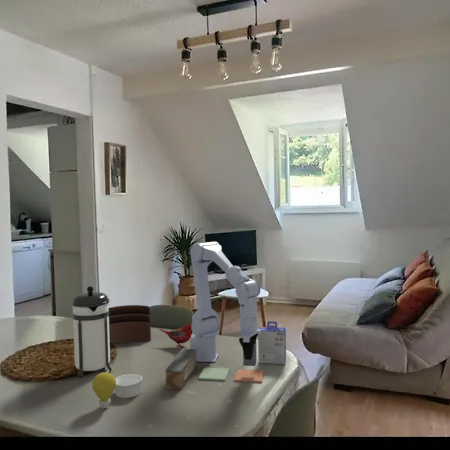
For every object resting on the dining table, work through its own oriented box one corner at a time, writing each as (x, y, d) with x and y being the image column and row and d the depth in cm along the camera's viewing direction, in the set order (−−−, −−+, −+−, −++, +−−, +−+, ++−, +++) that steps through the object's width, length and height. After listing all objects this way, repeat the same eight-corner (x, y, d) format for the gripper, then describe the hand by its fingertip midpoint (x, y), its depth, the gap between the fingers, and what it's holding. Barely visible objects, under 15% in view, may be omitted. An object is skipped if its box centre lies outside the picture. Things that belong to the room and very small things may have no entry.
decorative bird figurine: (193, 350, 171) (192, 326, 170) (157, 344, 180) (157, 320, 179) (196, 348, 173) (196, 324, 173) (161, 342, 182) (161, 319, 182)
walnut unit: (165, 389, 136) (164, 370, 135) (182, 365, 156) (181, 348, 155) (182, 390, 135) (181, 371, 134) (197, 366, 155) (196, 349, 154)
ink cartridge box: (286, 359, 160) (286, 321, 159) (285, 365, 154) (285, 325, 153) (260, 358, 162) (259, 320, 161) (258, 363, 156) (257, 324, 155)
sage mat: (198, 379, 143) (198, 377, 143) (204, 369, 152) (204, 367, 151) (225, 380, 141) (225, 379, 141) (229, 370, 150) (229, 368, 150)
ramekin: (117, 401, 128) (116, 387, 127) (110, 390, 136) (110, 377, 135) (146, 395, 132) (146, 381, 132) (138, 384, 140) (137, 371, 139)
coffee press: (124, 364, 158) (122, 283, 156) (94, 380, 143) (91, 291, 142) (88, 358, 165) (85, 280, 163) (56, 373, 150) (53, 288, 149)
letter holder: (105, 337, 191) (104, 306, 190) (150, 334, 194) (150, 303, 194) (103, 344, 181) (102, 311, 181) (150, 341, 185) (150, 308, 184)
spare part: (243, 365, 142) (243, 341, 142) (244, 361, 146) (244, 337, 146) (255, 366, 142) (255, 342, 141) (256, 361, 146) (256, 338, 145)
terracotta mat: (234, 381, 141) (234, 379, 141) (238, 370, 149) (238, 369, 149) (261, 382, 139) (261, 381, 139) (263, 372, 148) (263, 370, 148)
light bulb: (95, 402, 127) (94, 369, 127) (118, 401, 128) (117, 368, 127) (90, 413, 121) (89, 378, 120) (114, 411, 121) (113, 377, 121)
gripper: (258, 323, 135) (259, 365, 136) (262, 311, 150) (262, 350, 150) (236, 322, 137) (237, 364, 137) (242, 311, 151) (242, 349, 152)
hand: (249, 356), depth 144 cm, fingers closed on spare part, 4 cm apart
